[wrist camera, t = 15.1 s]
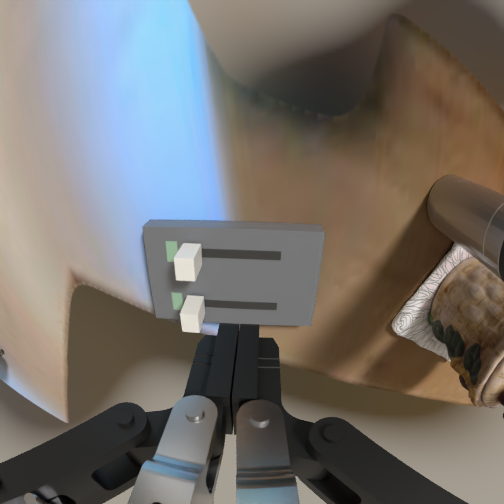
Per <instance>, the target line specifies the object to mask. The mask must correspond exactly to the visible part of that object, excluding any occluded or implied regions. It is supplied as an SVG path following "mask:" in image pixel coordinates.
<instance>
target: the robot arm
mask: <svg viewBox="0 0 504 504" xmlns="http://www.w3.org/2000/svg"><path fill="white" fill-rule="evenodd" d="M427 212H428V217H429V219H430V222H431V223H432V225H433V226H434V227H435V228H436V229H438V230H439V231H440V232H442V233H443V234H445V235H446V236H447V237H448V238H450V239H451V240H452V241H454V242H455V243H456V244H458V245H459V246H460V247H462V248H463V249H464V250H466V251H467V252H468V253H469V254H471V255H472V256H473V257H474V258H476V259H477V260H478V261H479V262H481V263H482V264H483V265H484V266H485V267H487V268H488V269H489V270H490V271H491V272H493V273H494V274H495V275H496V276H497V277H498V278H500V279H501V280H502V281H503V282H504V195H503V194H500V193H498V192H496V191H493V190H491V189H489V188H486V187H484V186H481V185H479V184H476V183H474V182H472V181H469V180H466V179H464V178H461V177H458V176H455V175H447V176H444V177H442V178H441V179H439V180H438V181H437V182H436V183H435V184H434V186H433V187H432V189H431V191H430V194H429V197H428V202H427ZM233 423H234V434H236V435H237V436H236V446H237V447H236V448H237V475H236V499H237V501H236V504H300V503H299V497H298V489H297V482H296V478H295V476H298V478H299V479H300V480H301V481H302V482H303V483H304V484H306V486H308V488H310V489H311V490H312V491H313V492H314V493H315V494H316V495H318V496H319V497H320V498H321V499H322V500H323V501H325V502H326V503H327V504H468V503H467V502H465V501H463V500H461V499H460V498H458V497H456V496H454V495H453V494H451V493H450V492H448V491H446V490H445V489H443V488H441V487H440V486H438V485H437V484H435V483H433V482H432V481H430V480H429V479H427V478H425V477H424V476H422V475H421V474H419V473H418V472H416V471H415V470H413V469H412V468H410V467H409V466H407V465H406V464H404V463H403V462H402V461H400V460H399V459H397V458H396V457H394V456H393V455H392V454H390V453H389V452H387V451H386V450H385V449H383V448H382V447H380V446H379V445H378V444H376V443H375V442H374V441H372V440H371V439H369V438H368V437H367V436H365V435H364V434H363V433H361V432H360V431H359V430H357V429H356V428H355V427H353V426H352V425H351V424H350V423H348V422H347V421H345V420H343V419H341V418H336V417H327V418H323V419H320V420H319V421H317V422H316V423H312V422H308V421H304V420H300V419H297V418H295V417H293V416H291V415H290V414H289V413H287V412H286V410H285V409H284V407H283V406H282V403H281V384H280V361H279V347H278V345H277V344H276V342H275V341H274V339H273V338H259V324H240V331H239V324H235V323H220V325H219V329H218V334H217V336H214V335H205V337H204V338H203V339H202V340H201V341H200V342H199V343H198V345H197V349H196V353H195V356H194V360H193V364H192V367H191V371H190V375H189V378H188V382H187V386H186V389H185V393H184V396H183V398H182V399H180V400H179V401H178V402H177V403H176V404H175V405H174V407H172V408H170V409H167V410H162V411H153V412H145V411H144V410H143V409H142V408H141V407H140V406H138V405H136V404H134V403H128V402H125V403H119V404H117V405H115V406H113V407H111V408H109V409H108V410H106V411H104V412H102V413H100V414H98V415H97V416H95V417H93V418H91V419H90V420H88V421H86V422H84V423H82V424H80V425H78V426H76V427H74V428H73V429H71V430H69V431H67V432H65V433H63V434H61V435H59V436H57V437H56V438H53V439H52V440H50V441H47V442H45V443H43V444H41V445H39V446H37V447H35V448H33V449H31V450H29V451H27V452H24V453H22V454H20V455H18V456H16V457H14V458H11V459H9V460H7V461H5V462H2V463H0V504H102V503H105V502H106V501H108V500H110V499H112V498H113V497H115V496H117V495H119V494H120V493H122V492H124V491H125V490H127V489H129V488H130V487H132V486H134V488H133V491H132V493H131V496H130V498H129V501H128V504H213V503H214V501H213V499H214V492H215V488H216V483H217V478H218V474H219V469H220V465H221V460H222V455H223V449H224V443H225V434H232V433H233Z"/></svg>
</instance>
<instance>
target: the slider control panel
mask: <svg viewBox="0 0 504 504" xmlns="http://www.w3.org/2000/svg"><path fill="white" fill-rule="evenodd" d="M143 236H144V244H145V252H146V259H147V266H148V273H149V280H150V286H151V292H152V298H153V303H154V309H155V314H156V318H165V319H175V320H181V318H180V312H181V310H182V307H183V305H184V302H185V300H186V298H187V295H191V296H204V305H205V316H204V319H203V322H214V323H235V324H259V325H285V326H311V324H312V318H313V313H314V307H315V301H316V294H317V288H318V282H319V275H320V268H321V261H322V253H323V246H324V238H325V231H324V229H323V228H322V226H321V225H316V224H295V223H272V222H244V221H208V220H149V221H148V222H147V223H146V224H145V225H144V226H143ZM183 243H195V244H201V250H202V266H201V269H200V271H199V274H198V276H197V278H196V281H178V280H176V275H175V265H174V257H175V255H176V254H177V252H178V250H179V249H180V247H181V246H182V244H183Z"/></svg>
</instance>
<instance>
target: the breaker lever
mask: <svg viewBox="0 0 504 504" xmlns="http://www.w3.org/2000/svg"><path fill="white" fill-rule="evenodd" d="M174 265H175V275H176V280H178V281H196V278H197V276H198V274H199V271H200V269H201V266H202V250H201V244H195V243H183V244H182V246H181V247H180V249H179V250H178V252H177V254H176V255H175V257H174Z"/></svg>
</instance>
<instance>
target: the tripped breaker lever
mask: <svg viewBox="0 0 504 504" xmlns="http://www.w3.org/2000/svg"><path fill="white" fill-rule="evenodd" d="M204 316H205V305H204V296H191V295H187V298H186V300H185V302H184V305H183V307H182V310H181V312H180V318H181V325H182V331H184V332H196V333H200V330H201V326H202V323H203V319H204Z"/></svg>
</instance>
